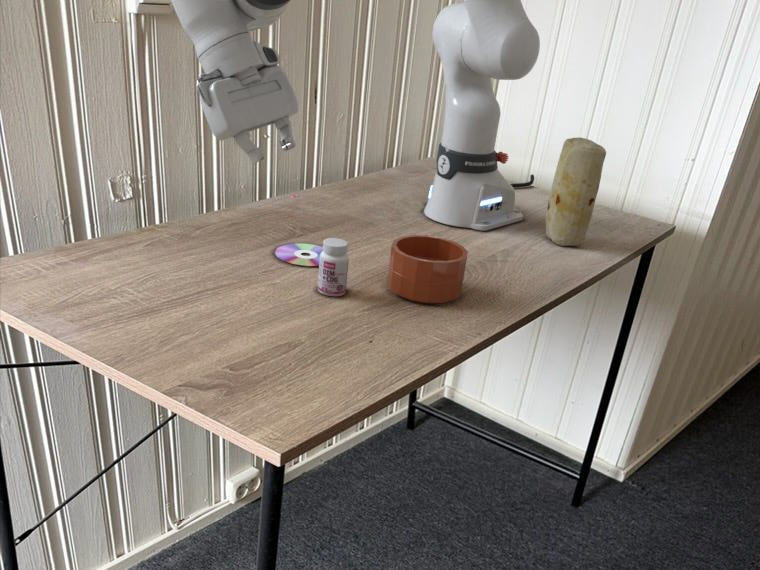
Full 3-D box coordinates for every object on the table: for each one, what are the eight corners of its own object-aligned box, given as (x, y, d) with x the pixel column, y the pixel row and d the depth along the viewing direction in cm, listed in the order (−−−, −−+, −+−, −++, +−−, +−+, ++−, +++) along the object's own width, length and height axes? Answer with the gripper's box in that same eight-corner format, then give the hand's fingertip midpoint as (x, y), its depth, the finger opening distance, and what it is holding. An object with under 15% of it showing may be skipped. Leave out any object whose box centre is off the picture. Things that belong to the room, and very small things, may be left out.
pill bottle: (319, 297, 136) (322, 246, 131) (315, 285, 140) (318, 236, 135) (348, 297, 138) (352, 247, 132) (343, 286, 141) (347, 237, 136)
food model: (589, 245, 173) (615, 144, 161) (574, 252, 168) (600, 148, 156) (548, 232, 177) (571, 132, 165) (533, 238, 173) (555, 136, 161)
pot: (429, 272, 151) (435, 231, 146) (475, 299, 143) (483, 256, 138) (372, 282, 144) (377, 239, 139) (417, 311, 136) (423, 266, 132)
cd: (262, 251, 150) (262, 250, 150) (305, 239, 157) (306, 239, 157) (305, 271, 144) (305, 270, 144) (349, 258, 152) (349, 257, 152)
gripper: (206, 65, 118) (252, 160, 123) (282, 49, 133) (320, 134, 138) (178, 85, 122) (223, 177, 127) (255, 67, 137) (293, 150, 142)
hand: (274, 155), depth 132 cm, fingers open, 8 cm apart
